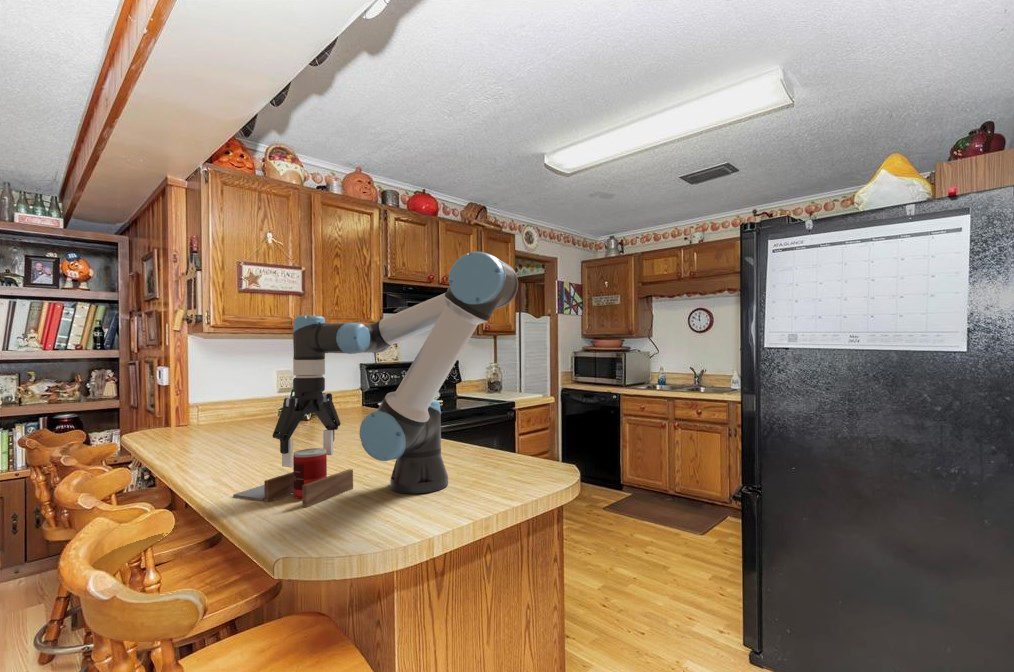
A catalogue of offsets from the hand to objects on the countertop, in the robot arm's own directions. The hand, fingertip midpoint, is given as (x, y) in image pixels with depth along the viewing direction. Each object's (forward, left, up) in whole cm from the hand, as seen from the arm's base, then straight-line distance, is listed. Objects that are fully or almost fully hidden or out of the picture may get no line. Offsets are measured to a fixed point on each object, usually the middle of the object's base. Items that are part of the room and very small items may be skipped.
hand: (308, 460), depth 124 cm
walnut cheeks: (0, 0, -9) cm, 9 cm away
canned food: (0, 0, -9) cm, 9 cm away
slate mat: (+12, +3, -9) cm, 15 cm away
